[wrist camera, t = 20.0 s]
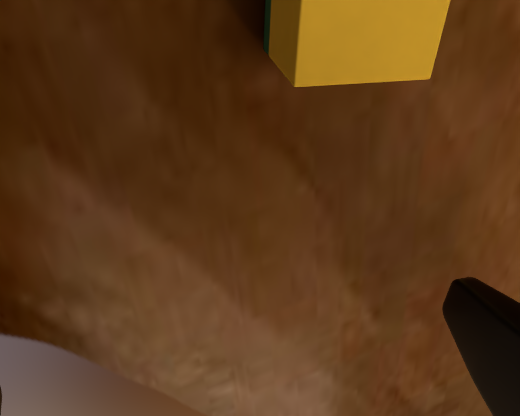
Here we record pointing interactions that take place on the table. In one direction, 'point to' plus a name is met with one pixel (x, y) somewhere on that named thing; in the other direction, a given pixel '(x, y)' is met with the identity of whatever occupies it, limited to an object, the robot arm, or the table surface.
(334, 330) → the table surface
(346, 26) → the sponge
